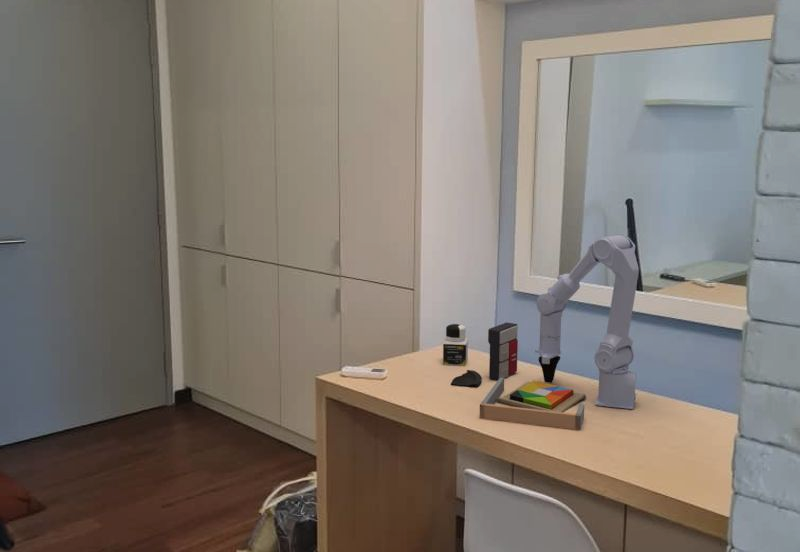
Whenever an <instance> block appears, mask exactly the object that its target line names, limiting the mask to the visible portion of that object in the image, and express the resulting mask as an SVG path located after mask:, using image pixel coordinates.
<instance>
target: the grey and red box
mask: <svg viewBox="0 0 800 552" xmlns="http://www.w3.org/2000/svg"><path fill="white" fill-rule="evenodd" d="M487 331H488V332H487V341H488V342H487V343H488V344H489V368H488V369H489V376H488V378H489V380H493V381H496V382H497V381H498V380H499V378H504V379H505V378H507V377H509V376H511V375H514V374H515V373H517V371H518V349H519V347H518V346H519V345H518V344H519V342H518V341H519V340H518V324H517V323H513V322H504V323H501V324H498V325H495V326H493V327H490V328H488V330H487ZM513 373H514V374H513Z"/></svg>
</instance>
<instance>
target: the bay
mask: <svg viewBox="0 0 800 552" xmlns="http://www.w3.org/2000/svg"><path fill="white" fill-rule="evenodd" d="M504 390H505V378H499V380H498V381H496V382H495V384H494V385H493V386H492V388H491V389H490V390H489V392H488V393H487V394H486V395H485V397H484V398H483V400H482V401H481V402H480V404H479V419H484V420H491V421H500V422H509V423H510V422H511V423H517V424H518V423H519V424H526V425H534V426H542V427H551V428H558V429H559V428H560V429H566V430H567V429H568V430H575V431H581V428H582V425H583V423H584V418H585V404H584V403H583V404H582V403H578V407H577V410H576V412H575V413H572V412H565V411H564V412H555V411H546V410H537V409H529V408H520V407H516V406H512V405H508V406H507V405H501V404H496V402H497V398H499V397H501V395H502V394H503V393H504V392H505V391H504Z"/></svg>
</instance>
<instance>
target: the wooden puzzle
mask: <svg viewBox="0 0 800 552" xmlns="http://www.w3.org/2000/svg"><path fill="white" fill-rule="evenodd" d="M586 398H587V395H586V394H585V393H582V392H576V391H574V389H572V388H567V387H563V386H560V385H555V384H552V383H547V382H541V381H537V380H532V381H526V382H524V383H523V384H522V385H520V386H518V387H517V388H515V389H514V390H512V391H510V392H508V394H506V395H504V396H502V397H501V396H500V397H499V398H497V401H496V402H497V403H501V404H504V405H508V406H511V407H520V408H529V409H537V410H546V411H555V412H564V413H565V412H566V411H567V410H568V409H571V407H573V406H574V405H575V404H577V403H578V402H579V401H581V400H582V399H586Z"/></svg>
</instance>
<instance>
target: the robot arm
mask: <svg viewBox="0 0 800 552" xmlns="http://www.w3.org/2000/svg"><path fill="white" fill-rule="evenodd" d="M635 251H636V245H635V243H634V242H633V240H631V238H630V237H628V235H626V234H616V235H610V236H601V237H598V238H596V239H595V240H594V242H593V243H592V244H591V245H590V246H588V249H587V251H586V252H585V253H584V255H583V256H582V257H581V259H580V260H579V261H578V262H577V264H576V265H575V266H574V267H573V268H572V269H571V272H569V273H563V274H560V275H559V276H558V277H557V278H556V279H557V281H555V283H554V284H553V285H551V287H549V288H547V292H546V293H541V294H539V296H538V298H537V299H536V308H537V310H538V312H539V313H540V318H539V319H540V320H539V348H538V347H537V348H535V349H534V353H538V354H539V355H540V356H538V363H539V364H540V367H541V370H542V376H543V380H544V383H546V384H552V383H553V381H554V378H555V374H556V369H557V367H558V364H559V361H560V360H561V356H560V355H561V354H562V351H561V334H562V317H563V311H565V309H566V307H567V303H568V301H569V300H570V299H571V298H572V297H573V296H574V295H575V294H576V293H577V292H578V290H579V289H580V287H581V284H580V282H581V281H582V280H583V279H584V278H585V277H586V276H587V275H588V274H589V273H590V272H591V271H592V270H593V269H594V268H595V267H596V266H597V265H598V264H603V265H604V266H605V267H607V268H608V269H610V270H611V271H612V273H613V274H614V276H615V277H614V284H613V290H612V297H611V303H610V309H609V315H608V316H609V317H608V323H607V327H606V334H605V335H603V338H602V339H601V341H600V342H599V347H598V349H597V350H596V352H595V354H594V363H595V365H596V367H597V368H598V393H597V397H596V400H595V404H594V405H595V406H600V407H609V408H616V409H618V408H619V409H626V410H633V409H634V408H635V407H634V406H635V401H636V400H637V398H636V397H637V393H636V382H637V381H636V377H637V376H636V375H637V372H634V371H630V370H629V367H630V366H629V365H630V364H632V363H633V361H634V357H635V354H634V349H633V343H634V341H633V340H632V338H630V336H629V333H630V327H631V321H632V315H633V309H634V303H635V297H636V292H637V285H638V279H639V271H640V268H639V264H638V261H637V256H636V254H635V253H636V252H635Z"/></svg>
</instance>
